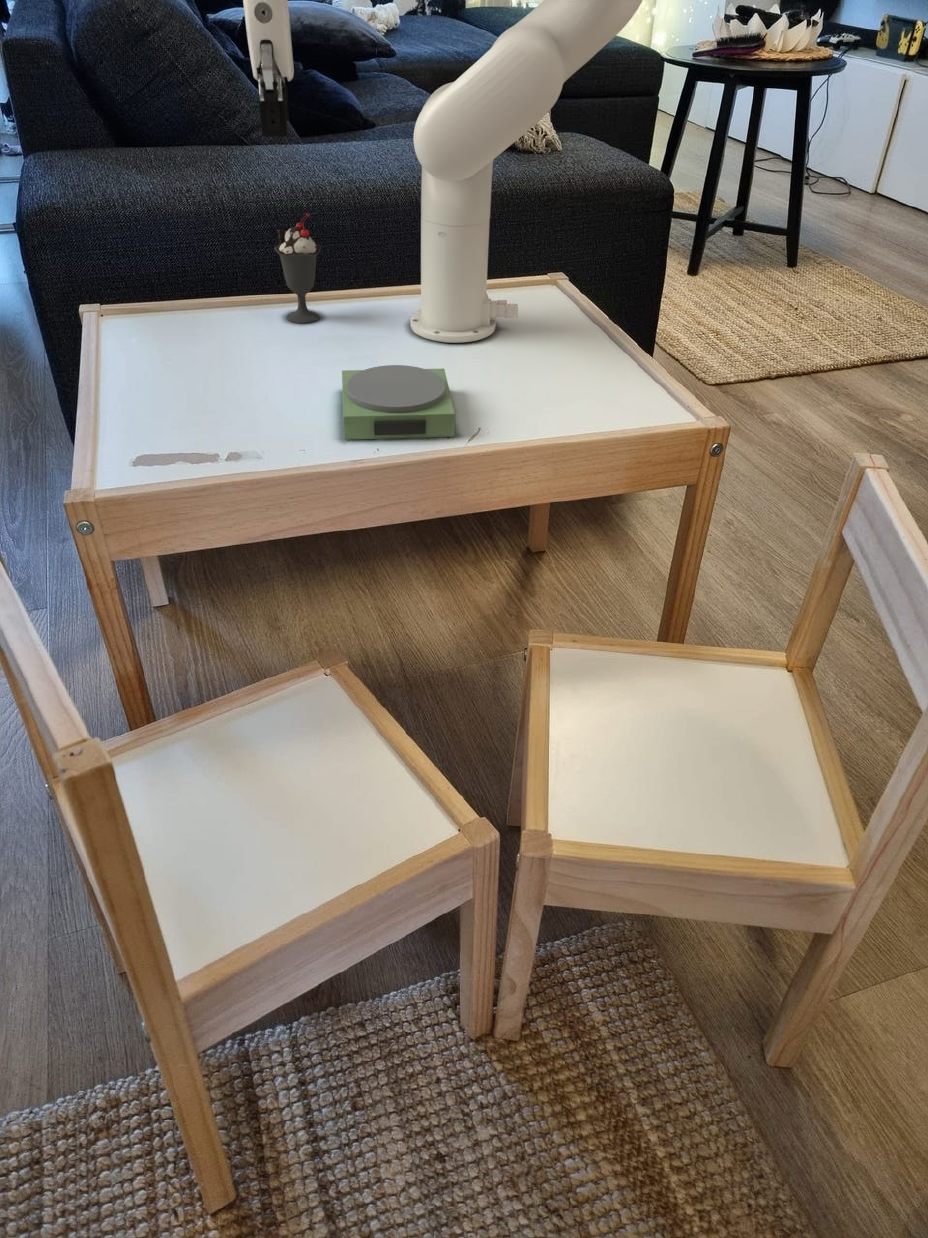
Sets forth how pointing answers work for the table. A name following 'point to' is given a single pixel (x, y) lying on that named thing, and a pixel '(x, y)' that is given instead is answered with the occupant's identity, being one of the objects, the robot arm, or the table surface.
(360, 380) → the scale
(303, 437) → the table surface
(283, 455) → the table surface
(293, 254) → the sundae
